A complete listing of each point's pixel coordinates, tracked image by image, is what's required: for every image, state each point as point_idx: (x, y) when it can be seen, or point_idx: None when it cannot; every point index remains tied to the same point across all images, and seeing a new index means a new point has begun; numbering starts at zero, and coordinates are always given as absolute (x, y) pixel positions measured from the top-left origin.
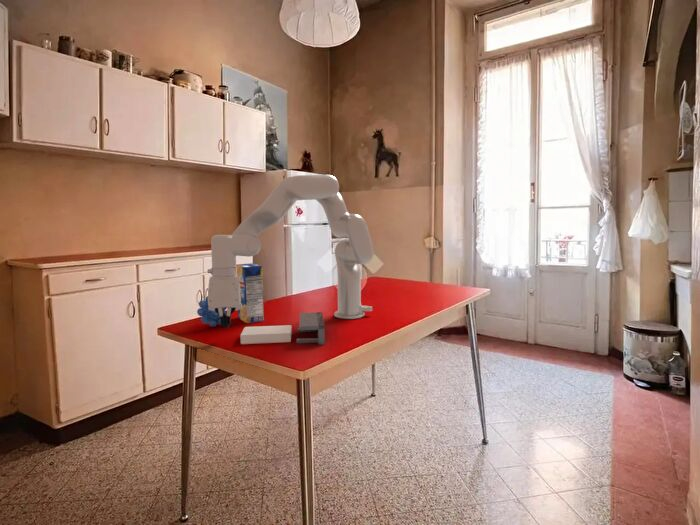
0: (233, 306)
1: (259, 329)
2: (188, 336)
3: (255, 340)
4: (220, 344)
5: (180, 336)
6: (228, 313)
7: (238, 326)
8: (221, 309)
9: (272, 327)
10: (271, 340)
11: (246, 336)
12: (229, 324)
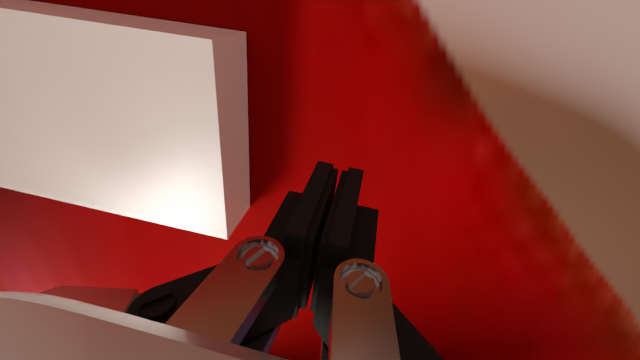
0: (25, 305)
1: (115, 153)
2: (580, 300)
3: (133, 19)
4: (392, 69)
5: (630, 316)
6: (254, 271)
7: (303, 337)
8: (339, 357)
9: (52, 170)
10: (35, 4)
11: (172, 31)
12: (295, 192)
